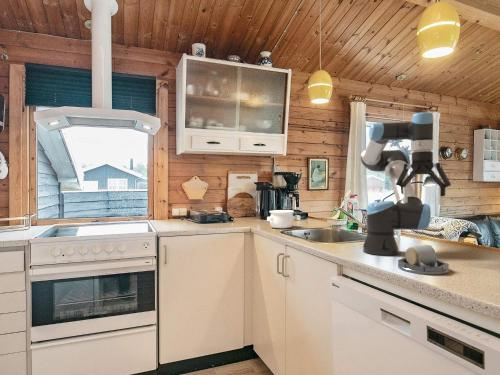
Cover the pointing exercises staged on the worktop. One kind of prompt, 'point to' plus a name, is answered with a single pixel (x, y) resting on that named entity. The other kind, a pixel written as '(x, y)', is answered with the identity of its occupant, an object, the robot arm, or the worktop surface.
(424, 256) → the ceramic mug
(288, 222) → the pot
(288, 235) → the worktop surface
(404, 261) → the ring plate
